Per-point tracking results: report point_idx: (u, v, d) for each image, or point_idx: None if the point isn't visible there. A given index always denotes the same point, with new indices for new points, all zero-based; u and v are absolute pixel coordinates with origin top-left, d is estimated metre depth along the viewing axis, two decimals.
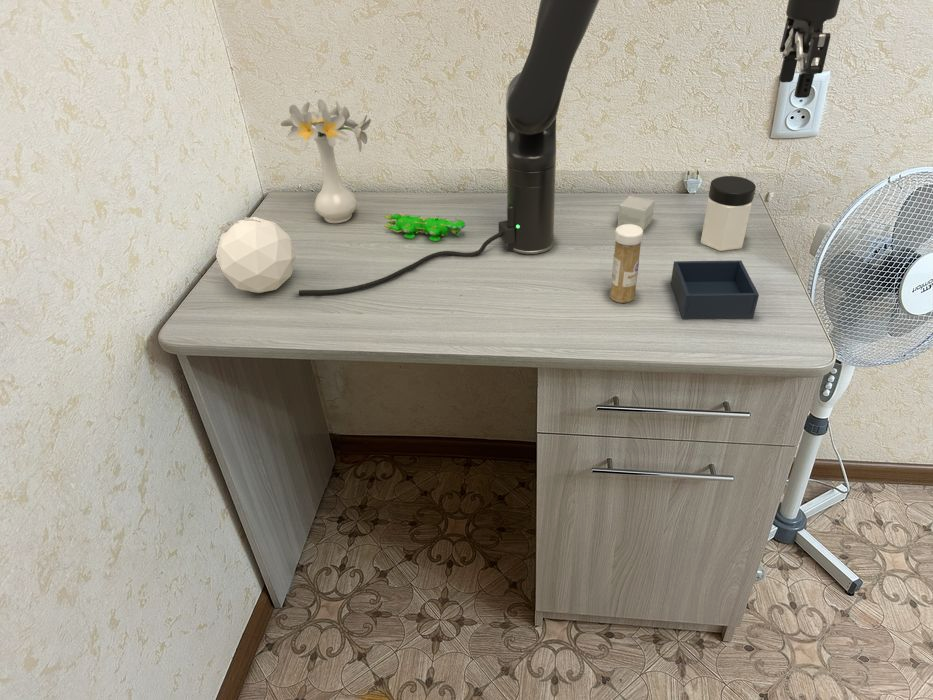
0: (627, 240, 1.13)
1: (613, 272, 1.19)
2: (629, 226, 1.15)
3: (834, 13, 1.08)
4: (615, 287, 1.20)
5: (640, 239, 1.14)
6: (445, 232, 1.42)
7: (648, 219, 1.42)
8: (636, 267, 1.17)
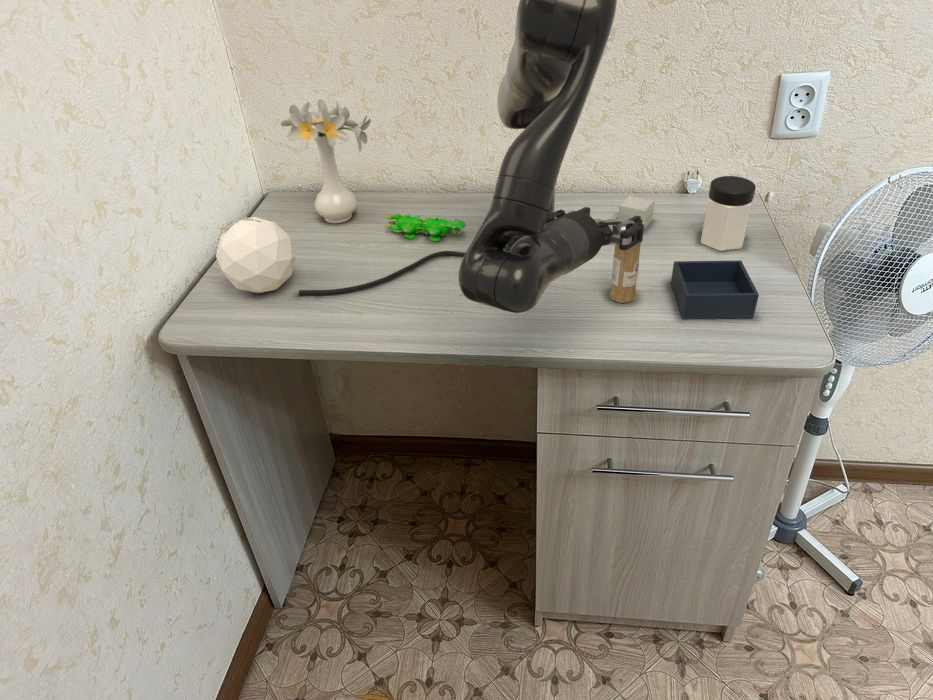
0: None
1: (613, 272, 1.19)
2: None
3: None
4: (615, 287, 1.20)
5: None
6: (445, 232, 1.42)
7: (648, 219, 1.42)
8: (636, 267, 1.17)
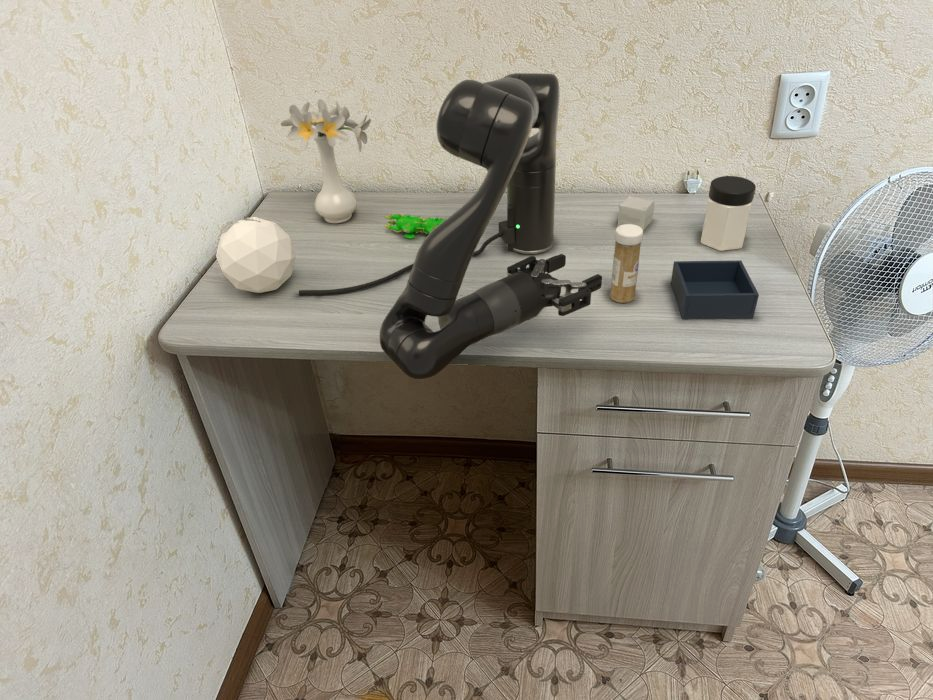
0: (627, 240, 1.13)
1: (613, 272, 1.19)
2: (629, 226, 1.15)
3: None
4: (615, 287, 1.20)
5: (640, 239, 1.14)
6: None
7: (648, 219, 1.42)
8: (636, 267, 1.17)
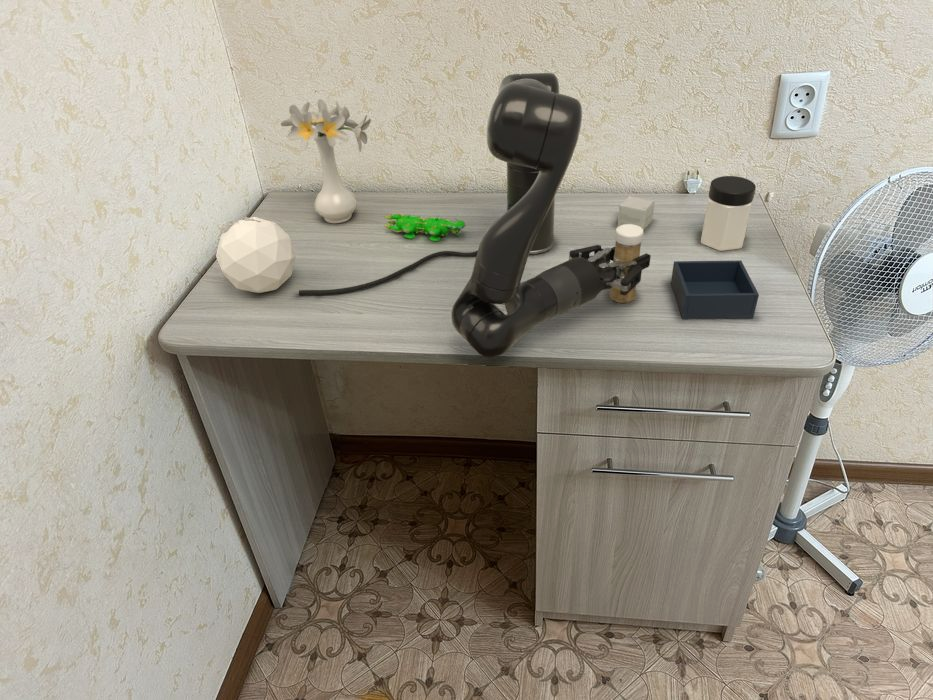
0: (627, 240, 1.13)
1: None
2: (629, 226, 1.15)
3: None
4: None
5: (640, 239, 1.14)
6: (445, 232, 1.42)
7: (648, 219, 1.42)
8: None
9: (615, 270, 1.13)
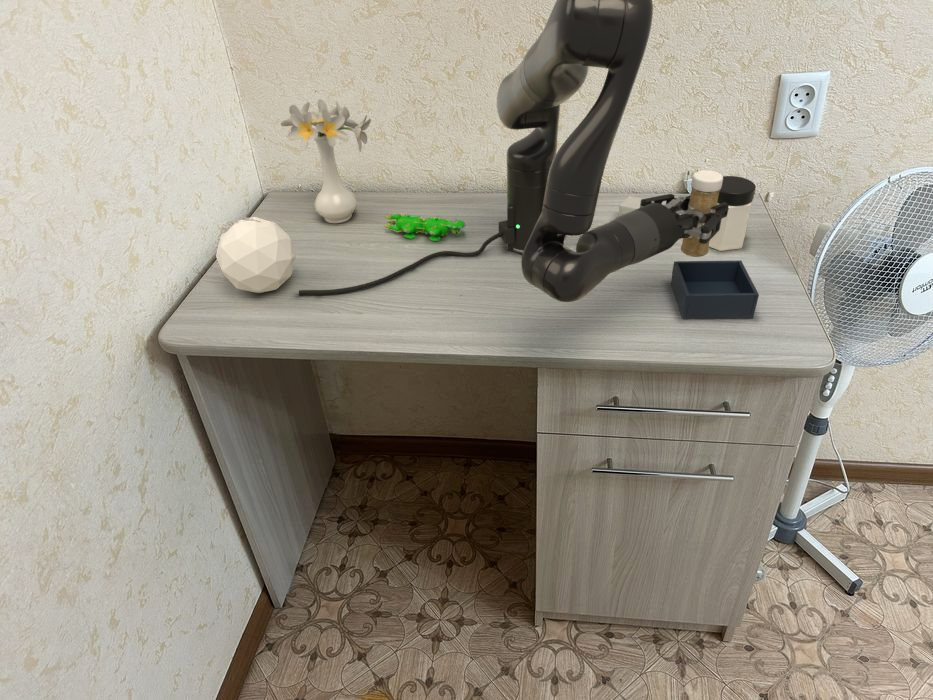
0: (707, 186, 1.05)
1: None
2: (707, 172, 1.07)
3: None
4: (688, 240, 1.12)
5: (720, 185, 1.06)
6: (445, 232, 1.42)
7: None
8: None
9: (693, 218, 1.05)
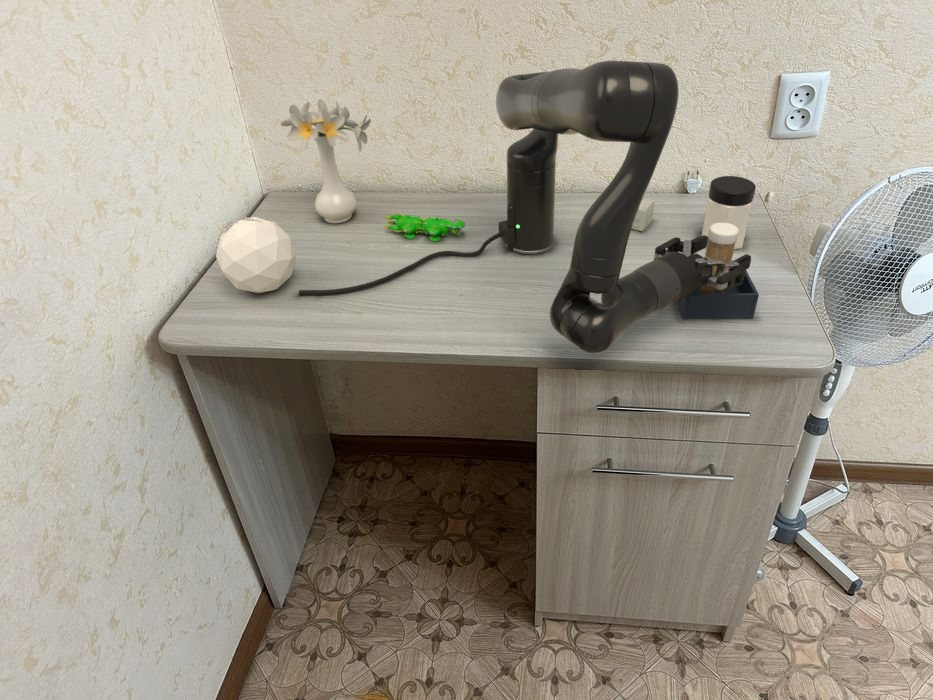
0: (723, 239, 1.10)
1: None
2: (723, 224, 1.12)
3: None
4: (705, 288, 1.17)
5: (736, 238, 1.11)
6: (445, 232, 1.42)
7: (648, 219, 1.42)
8: None
9: None
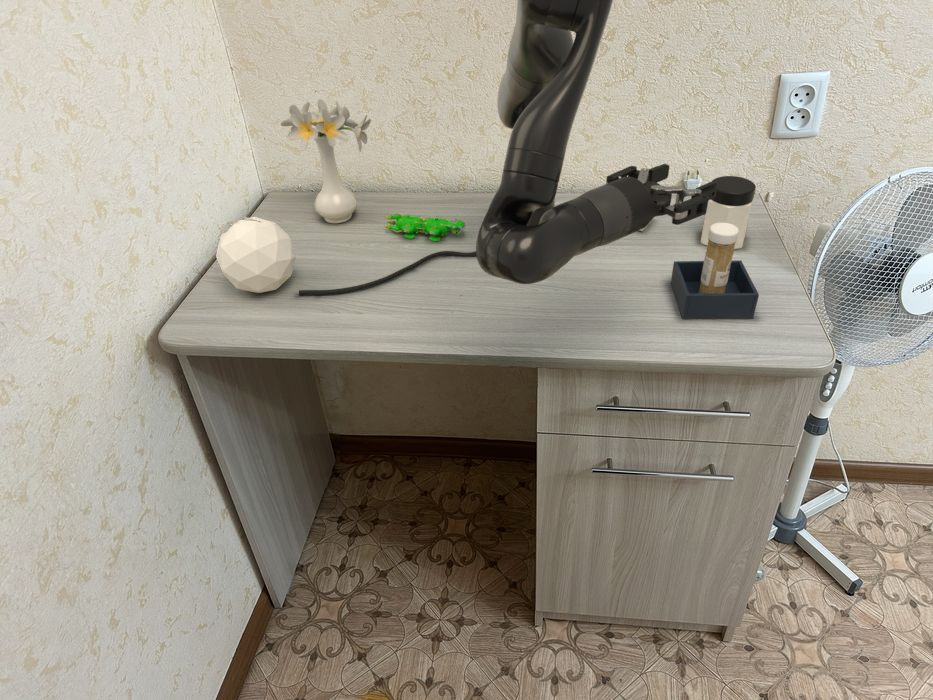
0: (723, 239, 1.10)
1: (704, 272, 1.16)
2: (723, 224, 1.12)
3: None
4: (705, 288, 1.17)
5: (736, 238, 1.11)
6: (445, 232, 1.42)
7: None
8: (729, 267, 1.14)
9: None
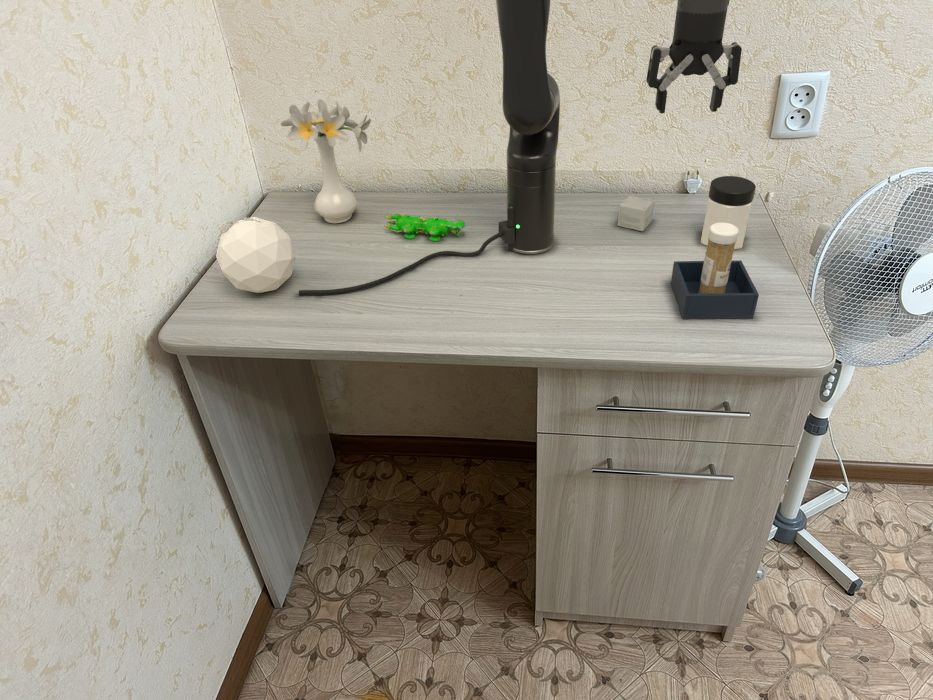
0: (723, 239, 1.10)
1: (704, 272, 1.16)
2: (723, 224, 1.12)
3: (683, 36, 1.06)
4: (705, 288, 1.17)
5: (736, 238, 1.11)
6: (445, 232, 1.42)
7: (648, 219, 1.42)
8: (729, 267, 1.14)
9: None
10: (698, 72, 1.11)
